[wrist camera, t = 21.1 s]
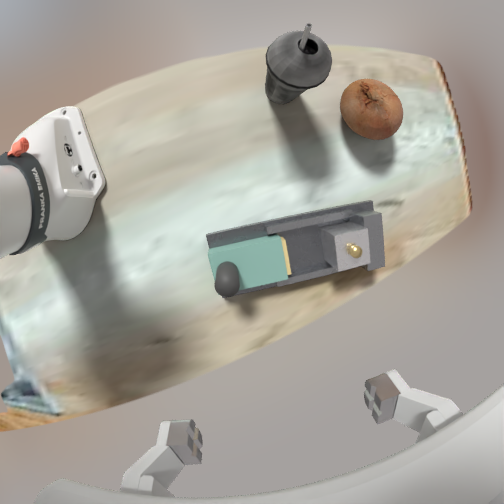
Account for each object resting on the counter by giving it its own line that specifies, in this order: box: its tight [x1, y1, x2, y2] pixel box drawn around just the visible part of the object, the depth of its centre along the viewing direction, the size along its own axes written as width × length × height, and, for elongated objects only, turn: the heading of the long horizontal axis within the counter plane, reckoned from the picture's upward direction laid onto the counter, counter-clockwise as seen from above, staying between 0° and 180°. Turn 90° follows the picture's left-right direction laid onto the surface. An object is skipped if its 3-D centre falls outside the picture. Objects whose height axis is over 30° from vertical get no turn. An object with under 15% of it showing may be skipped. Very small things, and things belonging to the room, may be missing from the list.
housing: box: [320, 221, 370, 272], centre depth 37 cm, size 5×5×7 cm
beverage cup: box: [265, 23, 332, 104], centre depth 25 cm, size 7×7×20 cm
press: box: [206, 200, 385, 298], centre depth 38 cm, size 10×26×6 cm, turn 102°
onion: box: [340, 79, 403, 140], centre depth 32 cm, size 10×9×10 cm
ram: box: [208, 234, 291, 297], centre depth 36 cm, size 6×11×8 cm, turn 102°
